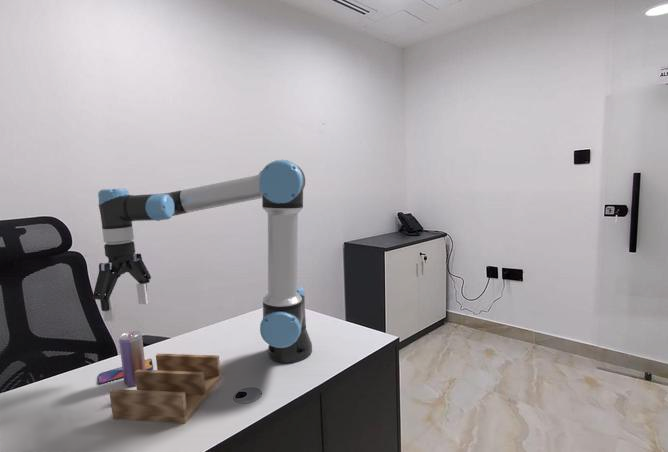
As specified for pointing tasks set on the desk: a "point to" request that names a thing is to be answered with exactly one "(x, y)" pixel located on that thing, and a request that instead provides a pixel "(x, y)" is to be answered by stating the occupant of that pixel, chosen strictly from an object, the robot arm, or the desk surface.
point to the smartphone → (118, 373)
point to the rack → (168, 389)
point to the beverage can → (131, 355)
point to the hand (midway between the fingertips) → (127, 311)
